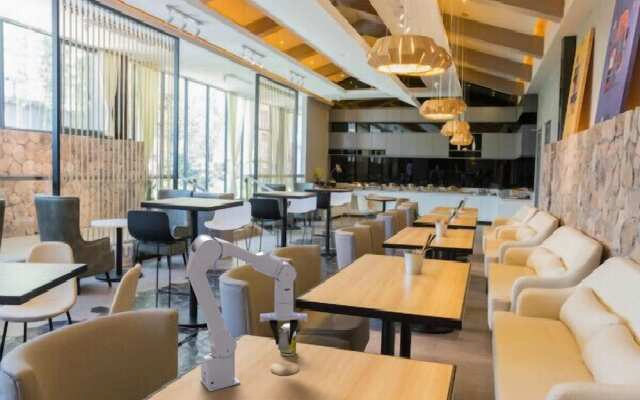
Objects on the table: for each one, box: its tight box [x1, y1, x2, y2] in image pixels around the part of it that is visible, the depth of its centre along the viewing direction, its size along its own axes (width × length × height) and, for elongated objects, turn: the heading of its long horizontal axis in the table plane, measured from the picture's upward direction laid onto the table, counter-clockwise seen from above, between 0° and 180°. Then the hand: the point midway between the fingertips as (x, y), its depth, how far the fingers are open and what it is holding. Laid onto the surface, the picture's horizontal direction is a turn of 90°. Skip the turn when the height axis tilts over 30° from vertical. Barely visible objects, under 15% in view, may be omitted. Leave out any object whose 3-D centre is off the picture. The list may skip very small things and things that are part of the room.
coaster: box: [269, 361, 300, 376], centre depth 158 cm, size 9×9×1 cm
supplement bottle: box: [279, 322, 297, 357], centre depth 170 cm, size 5×5×10 cm
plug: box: [277, 325, 289, 352], centre depth 156 cm, size 3×3×7 cm
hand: (283, 343), depth 156 cm, fingers closed on plug, 3 cm apart
